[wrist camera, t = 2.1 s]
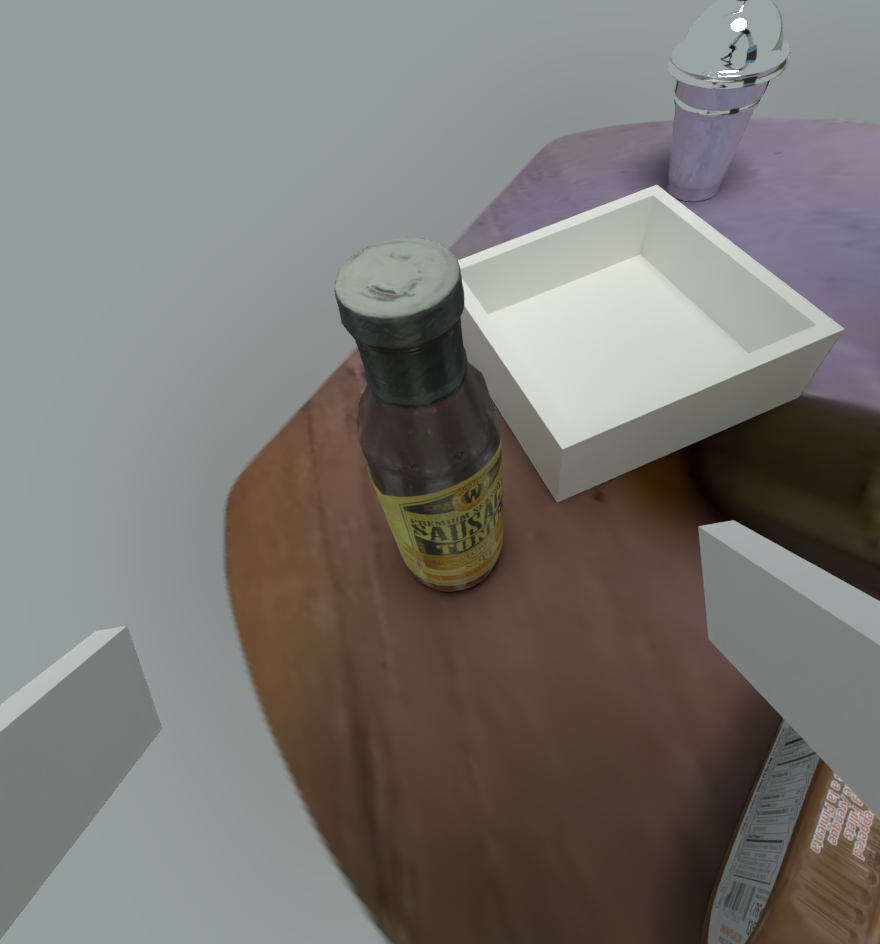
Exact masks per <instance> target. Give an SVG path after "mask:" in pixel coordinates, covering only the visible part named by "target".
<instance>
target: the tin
mask: <svg viewBox="0 0 880 944" xmlns="http://www.w3.org/2000/svg"><path fill="white" fill-rule="evenodd" d="M879 940H880V820H879V819H878V818H877V817H876V816H875V815H874V814H873V812H872V811H871V810H870V809H869V808H868V807H867V806H866V805H865V804H864V803H863V802H862V801H861V800H860V799H859V798H858V797H857V796H856V795H855V793H854V792H853V791H852V790H851V789H850V788H849V787H848V786H847V785H846V784H845V783H844V782H843V781H842V780H841V779H840V778H839V777H838V775H837V774H836V773H835V772H834V771H833V770H832V769H831V768H830V767H829V766H828V765H827V764H826V763H825V762H824V761H823V760H822V759H821V758H820V756H819V755H818V754H817V753H816V752H815V751H814V750H813V749H812V748H811V747H810V746H809V745H808V744H807V743H806V742H805V741H804V740H803V738H802V737H801V736H800V735H799V734H798V733H797V732H796V731H795V730H794V729H793V728H792V727H791V726H790V725H789V724H788V723H787V722H786V720H785V719H784V718H782V720H781V722H780V725H779V727H778V730H777V732H776V734H775V737H774V739H773V741H772V744H771V746H770V748H769V750H768V753H767V755H766V757H765V760H764V762H763V764H762V767H761V769H760V771H759V774H758V776H757V778H756V780H755V783H754V785H753V788H752V790H751V792H750V795H749V797H748V800H747V802H746V805H745V807H744V809H743V812H742V814H741V817H740V819H739V822H738V824H737V827H736V829H735V832H734V834H733V837H732V839H731V842H730V844H729V847H728V849H727V852H726V854H725V857H724V859H723V862H722V864H721V867H720V870H719V873H718V876H717V878H716V881H715V884H714V887H713V890H712V893H711V897H710V900H709V904H708V907H707V911H706V915H705V919H704V924H703V929H702V936H701V944H878V943H879Z"/></svg>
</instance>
